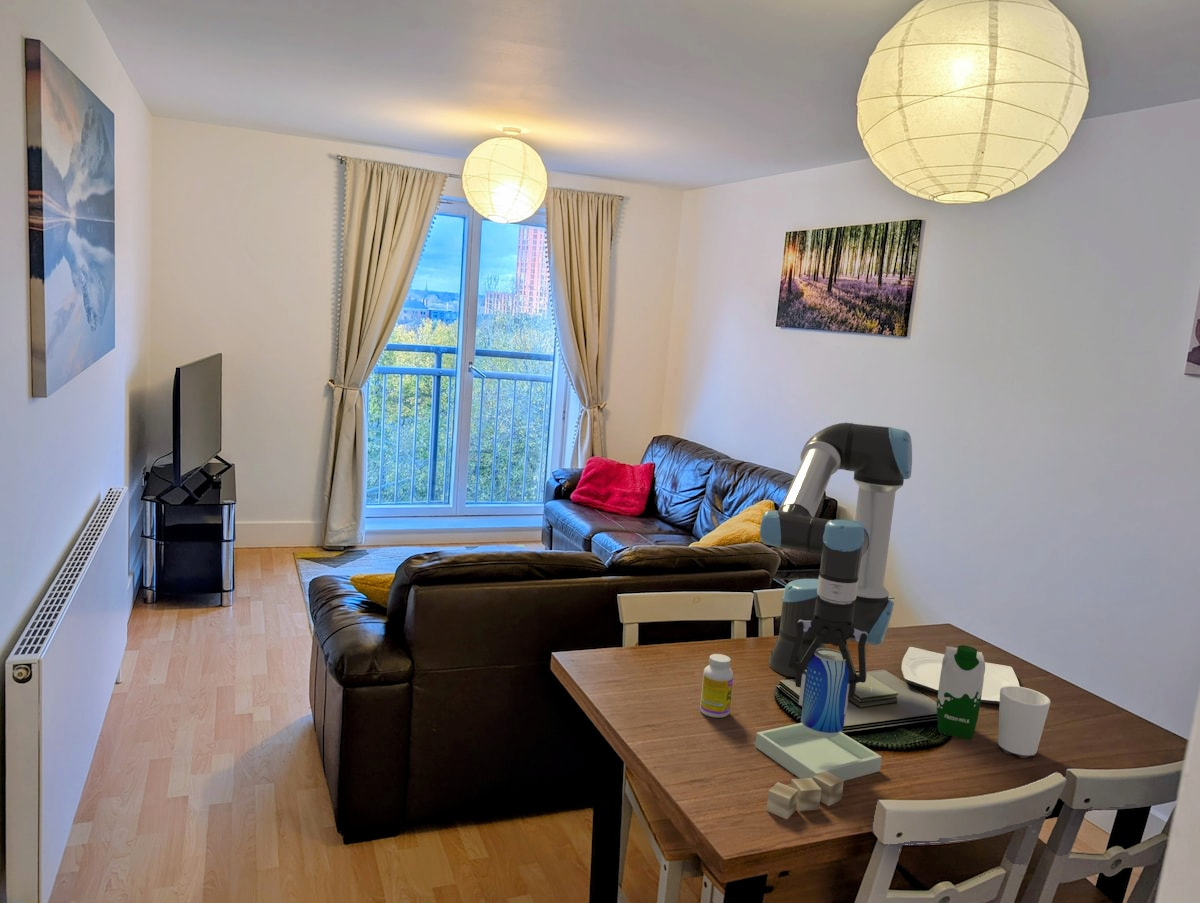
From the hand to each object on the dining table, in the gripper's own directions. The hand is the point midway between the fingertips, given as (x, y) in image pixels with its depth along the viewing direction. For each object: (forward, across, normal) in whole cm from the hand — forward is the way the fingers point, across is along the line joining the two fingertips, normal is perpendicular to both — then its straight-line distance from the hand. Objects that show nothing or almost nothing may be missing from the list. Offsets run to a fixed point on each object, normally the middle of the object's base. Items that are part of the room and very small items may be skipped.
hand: (822, 707), depth 175 cm
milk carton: (+11, +27, +30) cm, 42 cm away
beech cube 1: (+11, +3, -14) cm, 19 cm away
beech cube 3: (+12, -4, -23) cm, 26 cm away
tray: (+11, 0, 0) cm, 11 cm away
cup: (+11, +40, +26) cm, 49 cm away
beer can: (+5, 0, 0) cm, 5 cm away
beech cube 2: (+11, 0, -19) cm, 22 cm away
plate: (+12, +29, +62) cm, 69 cm away
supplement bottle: (+11, -24, +11) cm, 28 cm away
